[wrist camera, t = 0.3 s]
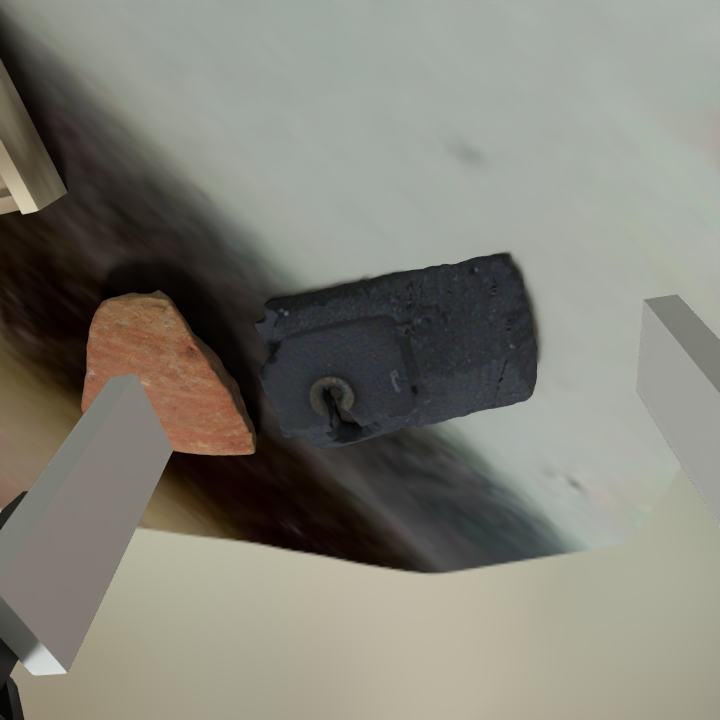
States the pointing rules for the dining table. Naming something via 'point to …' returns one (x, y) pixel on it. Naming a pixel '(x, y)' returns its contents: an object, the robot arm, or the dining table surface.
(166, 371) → the ceramic shard
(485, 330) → the dark block with eyelet
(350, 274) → the dining table surface
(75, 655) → the robot arm
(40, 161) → the drying rack
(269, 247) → the dining table surface
